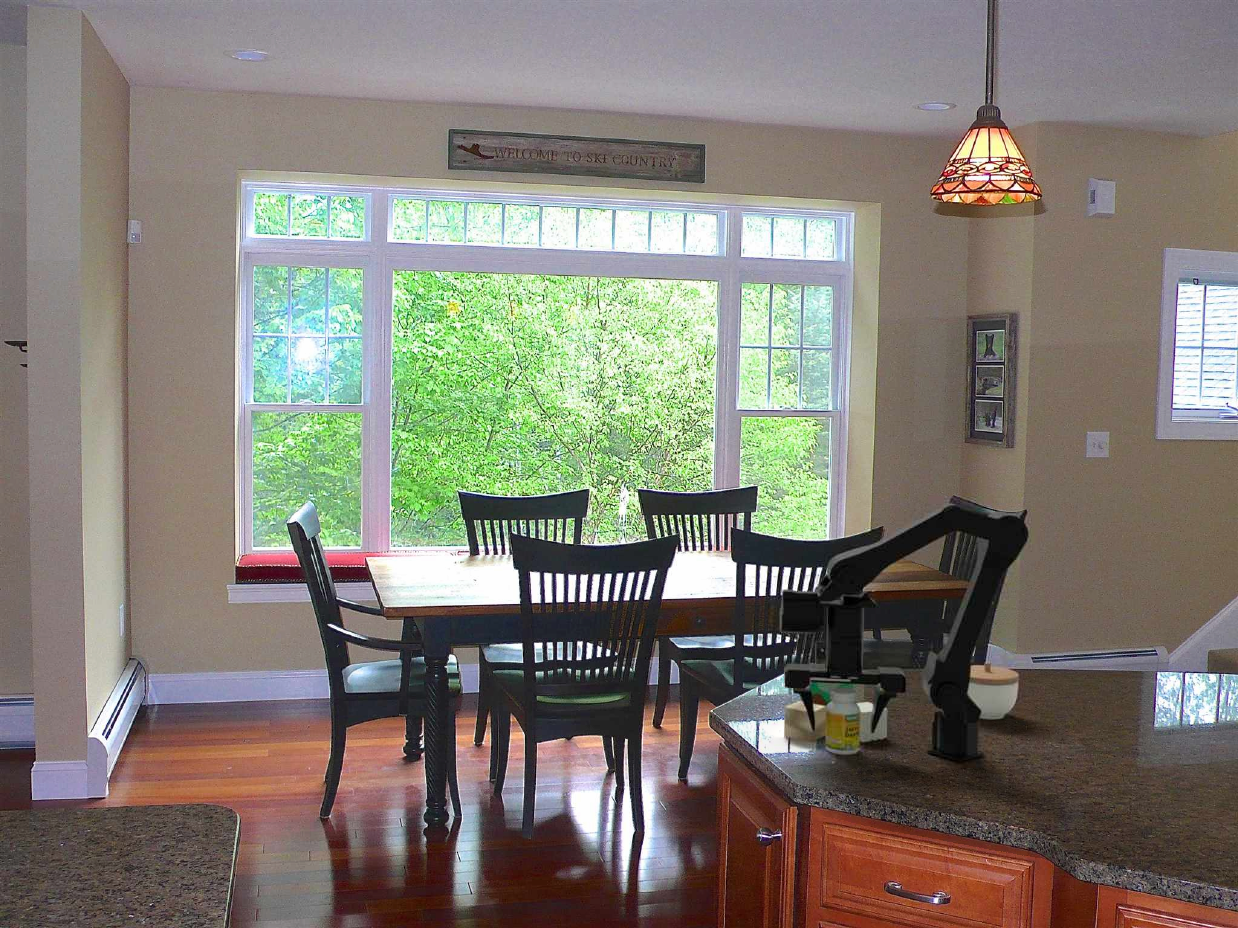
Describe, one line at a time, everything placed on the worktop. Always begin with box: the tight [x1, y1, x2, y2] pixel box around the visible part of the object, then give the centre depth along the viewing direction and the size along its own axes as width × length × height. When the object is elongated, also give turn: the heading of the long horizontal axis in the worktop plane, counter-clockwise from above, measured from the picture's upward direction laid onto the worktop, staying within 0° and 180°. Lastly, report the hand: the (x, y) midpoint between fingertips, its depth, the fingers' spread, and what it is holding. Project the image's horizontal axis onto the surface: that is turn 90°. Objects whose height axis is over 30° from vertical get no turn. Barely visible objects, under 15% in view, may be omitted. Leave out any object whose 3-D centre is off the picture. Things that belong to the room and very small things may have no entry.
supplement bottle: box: [825, 688, 860, 756], centre depth 186 cm, size 5×5×10 cm
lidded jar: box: [967, 661, 1020, 720], centre depth 207 cm, size 11×11×9 cm
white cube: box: [855, 701, 888, 743], centre depth 194 cm, size 5×5×5 cm
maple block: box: [783, 700, 826, 743], centre depth 193 cm, size 5×5×5 cm
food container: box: [809, 662, 856, 706], centre depth 206 cm, size 12×6×10 cm, turn 143°
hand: (842, 731), depth 186 cm, fingers open, 9 cm apart
